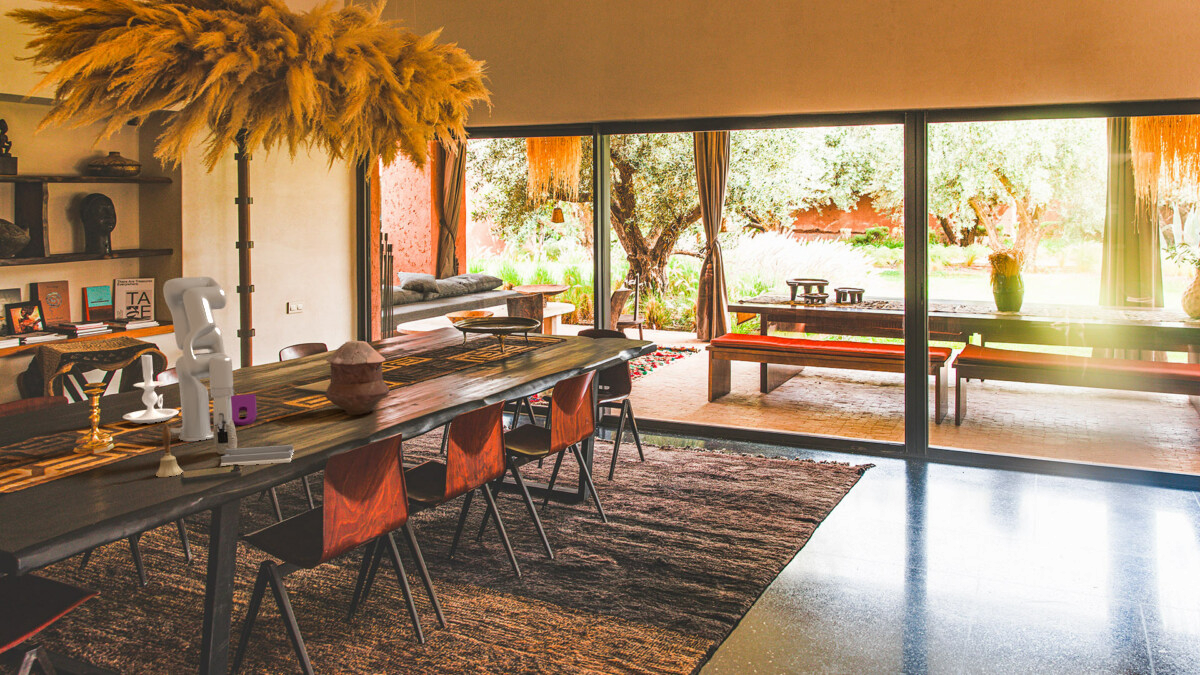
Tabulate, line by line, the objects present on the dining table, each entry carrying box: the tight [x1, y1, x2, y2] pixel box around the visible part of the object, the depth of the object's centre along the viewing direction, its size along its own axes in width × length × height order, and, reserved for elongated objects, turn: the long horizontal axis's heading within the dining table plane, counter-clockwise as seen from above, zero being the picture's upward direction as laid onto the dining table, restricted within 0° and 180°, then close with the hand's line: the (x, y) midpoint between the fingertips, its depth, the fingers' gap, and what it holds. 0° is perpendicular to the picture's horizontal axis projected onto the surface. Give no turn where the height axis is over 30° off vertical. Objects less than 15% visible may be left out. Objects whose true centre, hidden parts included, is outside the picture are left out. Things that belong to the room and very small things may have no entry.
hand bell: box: [155, 424, 184, 478], centre depth 301 cm, size 8×8×16 cm
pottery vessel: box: [324, 340, 390, 415], centre depth 391 cm, size 26×26×30 cm
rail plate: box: [220, 444, 295, 467], centre depth 319 cm, size 22×14×3 cm, turn 103°
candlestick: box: [122, 354, 180, 424], centre depth 379 cm, size 21×25×28 cm
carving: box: [213, 420, 238, 455], centre depth 327 cm, size 6×8×12 cm
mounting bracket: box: [231, 393, 258, 426], centre depth 379 cm, size 9×8×18 cm
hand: (225, 439), depth 327 cm, fingers open, 9 cm apart
